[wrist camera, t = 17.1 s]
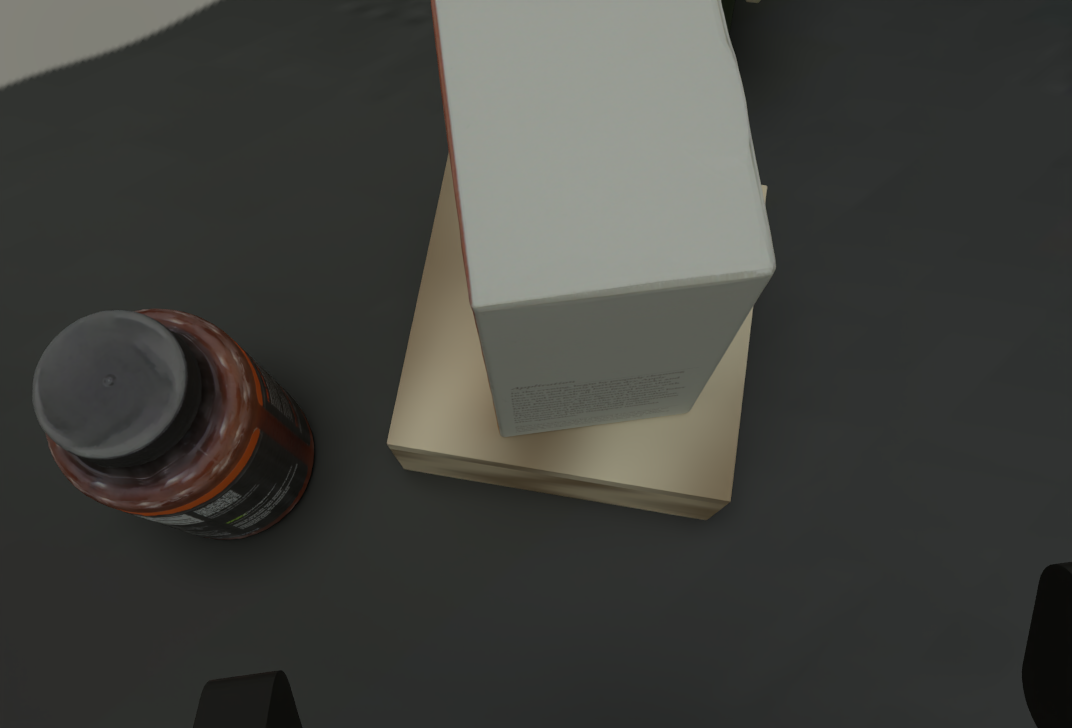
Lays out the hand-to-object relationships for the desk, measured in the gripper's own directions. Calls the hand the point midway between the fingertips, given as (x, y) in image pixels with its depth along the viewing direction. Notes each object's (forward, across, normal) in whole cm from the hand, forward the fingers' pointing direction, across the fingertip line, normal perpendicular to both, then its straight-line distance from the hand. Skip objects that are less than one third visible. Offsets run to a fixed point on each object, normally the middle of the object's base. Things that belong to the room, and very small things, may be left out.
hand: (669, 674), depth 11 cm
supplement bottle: (+24, +11, +12) cm, 29 cm away
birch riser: (+26, -2, +10) cm, 28 cm away
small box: (+22, -2, +7) cm, 23 cm away
